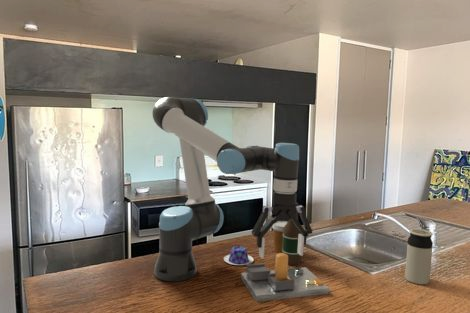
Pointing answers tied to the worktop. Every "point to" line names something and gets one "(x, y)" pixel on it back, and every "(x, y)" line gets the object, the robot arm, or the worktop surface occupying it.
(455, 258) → the worktop surface
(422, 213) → the worktop surface
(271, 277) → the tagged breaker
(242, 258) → the pudding
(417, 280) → the travel mug
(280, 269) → the cap
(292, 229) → the beer bottle
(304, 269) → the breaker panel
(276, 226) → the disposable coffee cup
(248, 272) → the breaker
